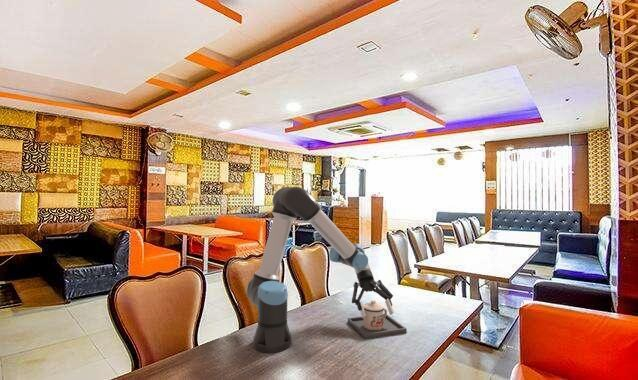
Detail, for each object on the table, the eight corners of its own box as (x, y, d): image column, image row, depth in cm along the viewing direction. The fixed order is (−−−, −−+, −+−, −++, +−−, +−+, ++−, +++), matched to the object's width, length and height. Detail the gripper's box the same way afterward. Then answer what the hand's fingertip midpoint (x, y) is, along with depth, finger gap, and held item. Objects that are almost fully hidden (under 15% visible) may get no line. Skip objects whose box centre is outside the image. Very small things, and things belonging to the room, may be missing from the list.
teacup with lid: (371, 332, 135) (371, 305, 135) (359, 325, 143) (359, 299, 143) (393, 327, 141) (393, 301, 141) (379, 320, 149) (380, 295, 149)
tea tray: (364, 339, 131) (364, 334, 131) (347, 322, 148) (347, 318, 148) (406, 332, 137) (406, 328, 137) (385, 317, 154) (385, 313, 154)
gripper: (383, 275, 161) (399, 315, 146) (337, 279, 153) (350, 322, 139) (389, 267, 156) (406, 308, 141) (342, 270, 148) (355, 314, 134)
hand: (378, 315), depth 140 cm, fingers open, 13 cm apart
